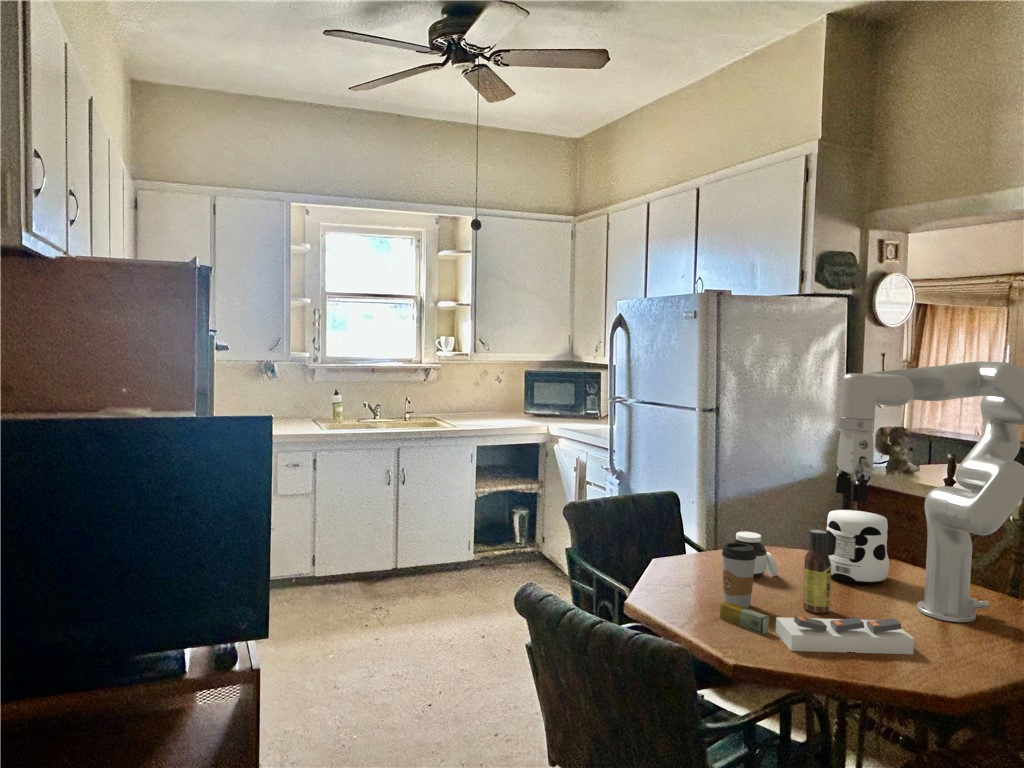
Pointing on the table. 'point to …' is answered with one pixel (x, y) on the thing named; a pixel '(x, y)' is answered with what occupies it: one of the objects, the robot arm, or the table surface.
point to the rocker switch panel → (843, 638)
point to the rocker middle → (847, 624)
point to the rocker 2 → (884, 625)
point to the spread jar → (758, 553)
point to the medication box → (744, 617)
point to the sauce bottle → (817, 574)
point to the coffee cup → (738, 573)
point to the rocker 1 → (810, 623)
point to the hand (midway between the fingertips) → (850, 497)
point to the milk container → (857, 546)
